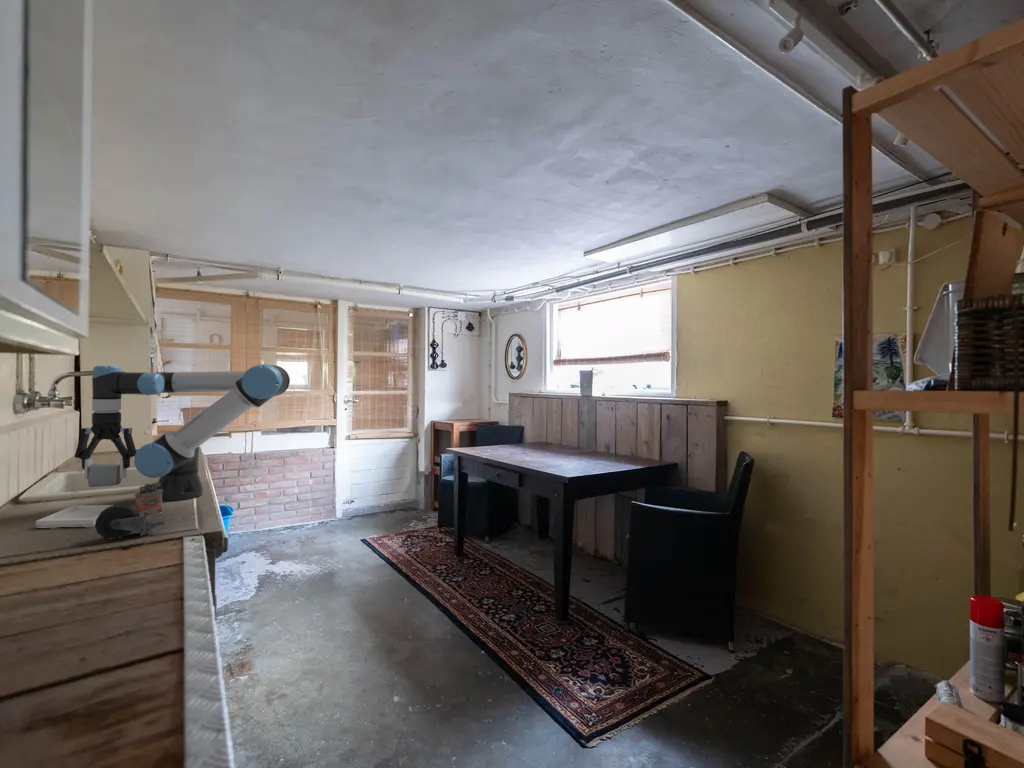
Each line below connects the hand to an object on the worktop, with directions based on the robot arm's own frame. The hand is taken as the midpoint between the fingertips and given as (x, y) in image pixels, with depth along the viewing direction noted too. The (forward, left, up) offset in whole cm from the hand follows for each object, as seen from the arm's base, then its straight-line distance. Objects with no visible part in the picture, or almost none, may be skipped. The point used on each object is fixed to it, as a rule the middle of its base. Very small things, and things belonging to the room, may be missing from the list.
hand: (106, 478), depth 161 cm
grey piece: (+1, -1, -3) cm, 3 cm away
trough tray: (-2, +15, -10) cm, 18 cm away
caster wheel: (-23, +32, -10) cm, 40 cm away
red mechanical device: (-18, +11, -10) cm, 23 cm away
